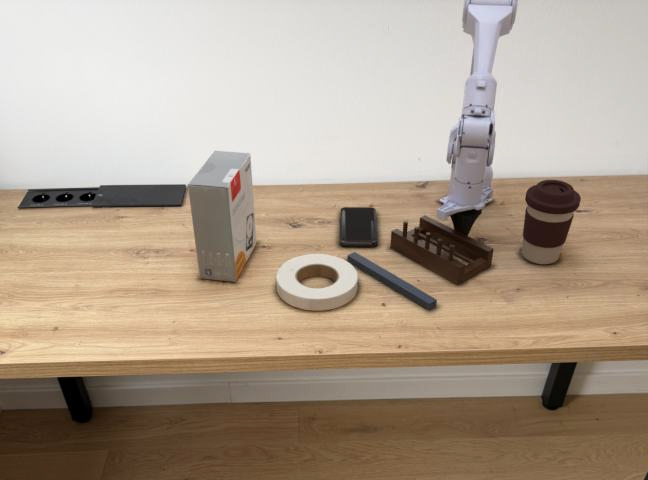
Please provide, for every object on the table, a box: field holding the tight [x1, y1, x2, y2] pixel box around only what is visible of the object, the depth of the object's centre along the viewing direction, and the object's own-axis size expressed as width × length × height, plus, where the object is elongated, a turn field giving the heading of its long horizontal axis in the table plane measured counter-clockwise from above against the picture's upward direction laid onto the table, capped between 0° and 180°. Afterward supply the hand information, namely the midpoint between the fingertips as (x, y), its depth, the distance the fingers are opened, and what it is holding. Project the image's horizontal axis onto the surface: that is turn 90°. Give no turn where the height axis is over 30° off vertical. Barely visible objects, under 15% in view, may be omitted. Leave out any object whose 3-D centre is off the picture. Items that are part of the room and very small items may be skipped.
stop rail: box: [346, 251, 438, 311], centre depth 130 cm, size 2×22×2 cm, turn 40°
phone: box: [339, 206, 379, 248], centre depth 146 cm, size 8×1×15 cm
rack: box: [389, 214, 495, 286], centre depth 135 cm, size 10×18×7 cm, turn 40°
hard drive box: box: [187, 150, 258, 283], centre depth 131 cm, size 16×8×20 cm, turn 168°
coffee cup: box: [521, 179, 582, 265], centre depth 133 cm, size 10×10×15 cm
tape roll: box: [275, 253, 359, 312], centre depth 129 cm, size 16×15×3 cm
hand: (460, 239), depth 140 cm, fingers closed
